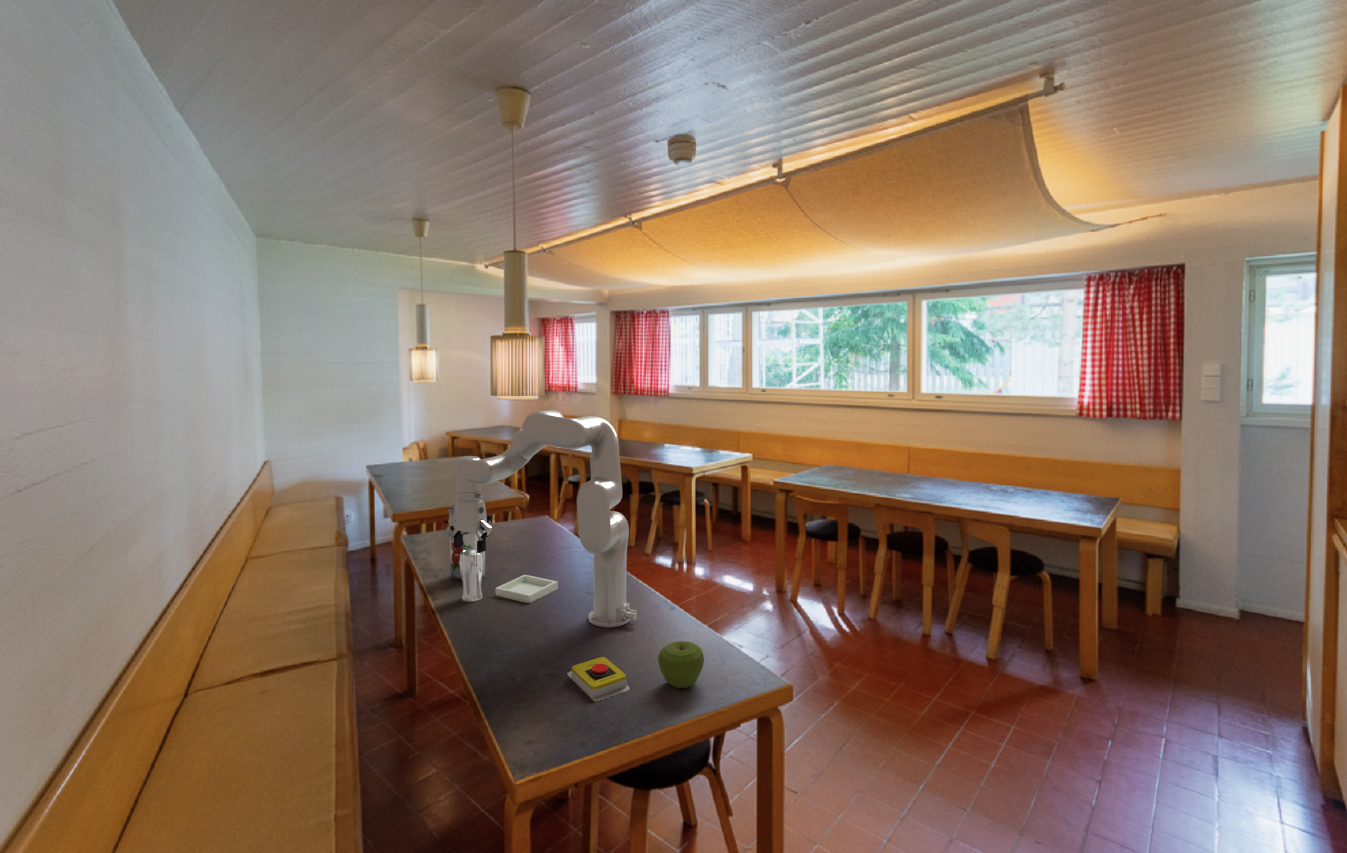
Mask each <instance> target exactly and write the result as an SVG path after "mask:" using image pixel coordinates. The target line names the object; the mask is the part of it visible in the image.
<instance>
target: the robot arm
mask: <svg viewBox="0 0 1347 853" xmlns="http://www.w3.org/2000/svg"><path fill="white" fill-rule="evenodd" d="M511 444H512V445H511V446H510V447H509V448H507V449H506V450H505V451H503V452H502V453H500V454H499V455H496V456H492V457H487V458H482V459H481V457H480V456H475V455H465V456H460V457H458V458H457V459H456V461H455V462H456V466H455V470H456V472H455V473H456V474H455V476H456V480H455V482H456V483H455V484H456V499H455V501H454V502H455V503H454V505H455V508H454V517H453V518H451V519H449V518H448V520H447V522H448V525H450V529H451V531H452V535H454V548H458V547H461V546H463V534H462V533H461V532H467V533H472V534H476V536H477V538H478V540H477V553H481V552H484V551H485V552H486V550H487V539H488V537H489V536H490V535H491V532H492V529H493V527H492V526H491V525H490V524H489V523H488V519H487V518H488V516H487V509H486V503H485V501H484V500H483V498H484V494H483V485H486V484H492V483H495V482H497V481H500V480H501V481H502V480H504V479H508V477H511V476H512V475H514V474H515V473H516V472H518V471H520V469H522V468H524V466H525V465H527V464H528V463H529V462H530V460H531V459H532V458H533V457H534V456H535V455H536V454H537V453H538V452H540V451H541V450H542V449H544V448H546V447H547V446H551V447H556V448H562V449H567V450H577V449H581V448H586V447H589V446H590V447H591V452H590V459H589V466H590V480H589V481H586V482H585V483H583V484H582V485H581V487H580V488H579V490H578V492H577V496H576V510H577V511H576V512H577V524H578V525H577V526H578V535H579V541H580V543H581V545H582V548H584V549H585V551H587V552H588V553H589V554H591V555H593V569H592V570H593V571H592V572H593V574H592V575H593V610H592V611H590V612H589V613H588V616H587V618H588V619H587V620H588V622H589V623H590V624H591V625H593V626H597V627H601V628H617V627H621V626H623V625H624V626H625V625H627V624H629V622H630V621H631V620H632V621H636V620H637V618H638V617H637V616H638V610H636V609H631V608H630V606H631V604H630V602H627V554H628V553H627V552H628V545H629V544H628V542H629V536H630V535H629V534H630V527H629V522H628V520H627V518H626V517H625V516H624V515H623V514H622V513H621V512H618V511H615V510H614V511H613V510H612V511H611V509H613V508H614V507H615V506H617V505H618V504H619V503H621V500H622V498H623V484H622V483H623V482H622V471H621V461H620V445H619V438H618V434H617V432H616V430H615V428H614V427H613V425H612V424H611V423H609V421H608V420H606V419H604V418H602V417H599V416H595V415H586V416H585V415H584V416H579V417H574V418H569V417H564V415H563V413H562V412H559V411H557V410H555V409H544V410H538V411H537V410H536V411H533V412H531V413H529V414H528V415H526V417H525V418H524V420H523V422H522V427H521V428H520V429H519V430H518V431H516V432H515V433H514V434H512V436H511ZM480 533H481V534H482V535H480Z"/></svg>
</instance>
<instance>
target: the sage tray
mask: <svg viewBox="0 0 1347 853" xmlns="http://www.w3.org/2000/svg"><path fill="white" fill-rule="evenodd" d="M558 584H559V581H556V580H553V579H547V578H543V577H539V576H534V575H529V574H528V575H527V574H523V575H521V576H519V577H517V578H514V579H512V580H510V581H507V582H506V583H503V584H501V585H499V586H497V587H495V596H496V597H500V598H504V599H509V600H514V601H516V602H522V603H527V604H529V603H530V604H532V603H534V602H536V601H537V599H538V600H539V599H542V598H543V597H546V596H547V595H549V594H551V593H552V592H553V593H554V591H557V590H558V589H559V585H558Z"/></svg>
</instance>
